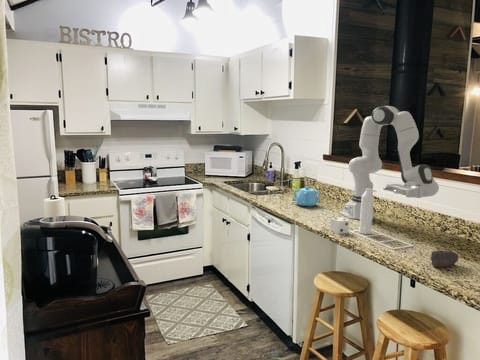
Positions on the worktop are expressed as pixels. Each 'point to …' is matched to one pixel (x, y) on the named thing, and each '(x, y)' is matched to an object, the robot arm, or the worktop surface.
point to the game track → (383, 241)
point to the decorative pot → (306, 197)
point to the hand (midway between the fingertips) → (389, 190)
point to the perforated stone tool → (443, 258)
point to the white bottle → (366, 212)
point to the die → (339, 225)
